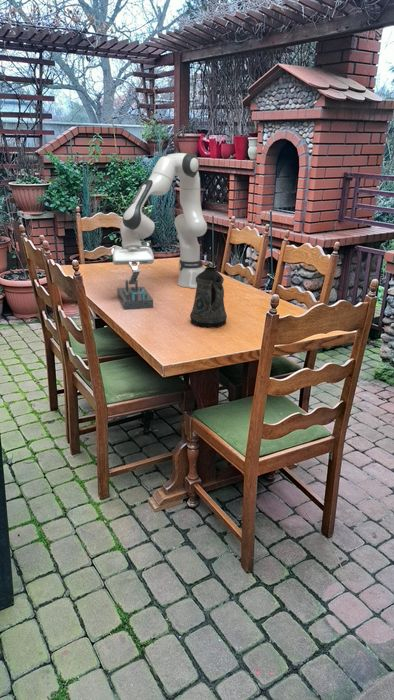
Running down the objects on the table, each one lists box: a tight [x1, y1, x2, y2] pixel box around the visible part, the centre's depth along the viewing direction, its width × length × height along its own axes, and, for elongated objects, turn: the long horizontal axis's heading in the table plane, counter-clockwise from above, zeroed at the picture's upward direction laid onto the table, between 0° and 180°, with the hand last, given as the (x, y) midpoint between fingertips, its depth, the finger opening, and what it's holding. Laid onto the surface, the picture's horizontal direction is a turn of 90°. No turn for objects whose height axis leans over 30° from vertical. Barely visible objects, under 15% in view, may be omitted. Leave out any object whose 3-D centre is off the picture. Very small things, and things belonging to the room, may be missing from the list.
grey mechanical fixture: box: [117, 279, 154, 310], centre depth 261 cm, size 14×27×8 cm, turn 15°
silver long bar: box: [128, 268, 141, 285], centre depth 259 cm, size 3×23×2 cm
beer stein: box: [189, 266, 228, 329], centre depth 229 cm, size 16×19×25 cm
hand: (135, 270), depth 253 cm, fingers closed
